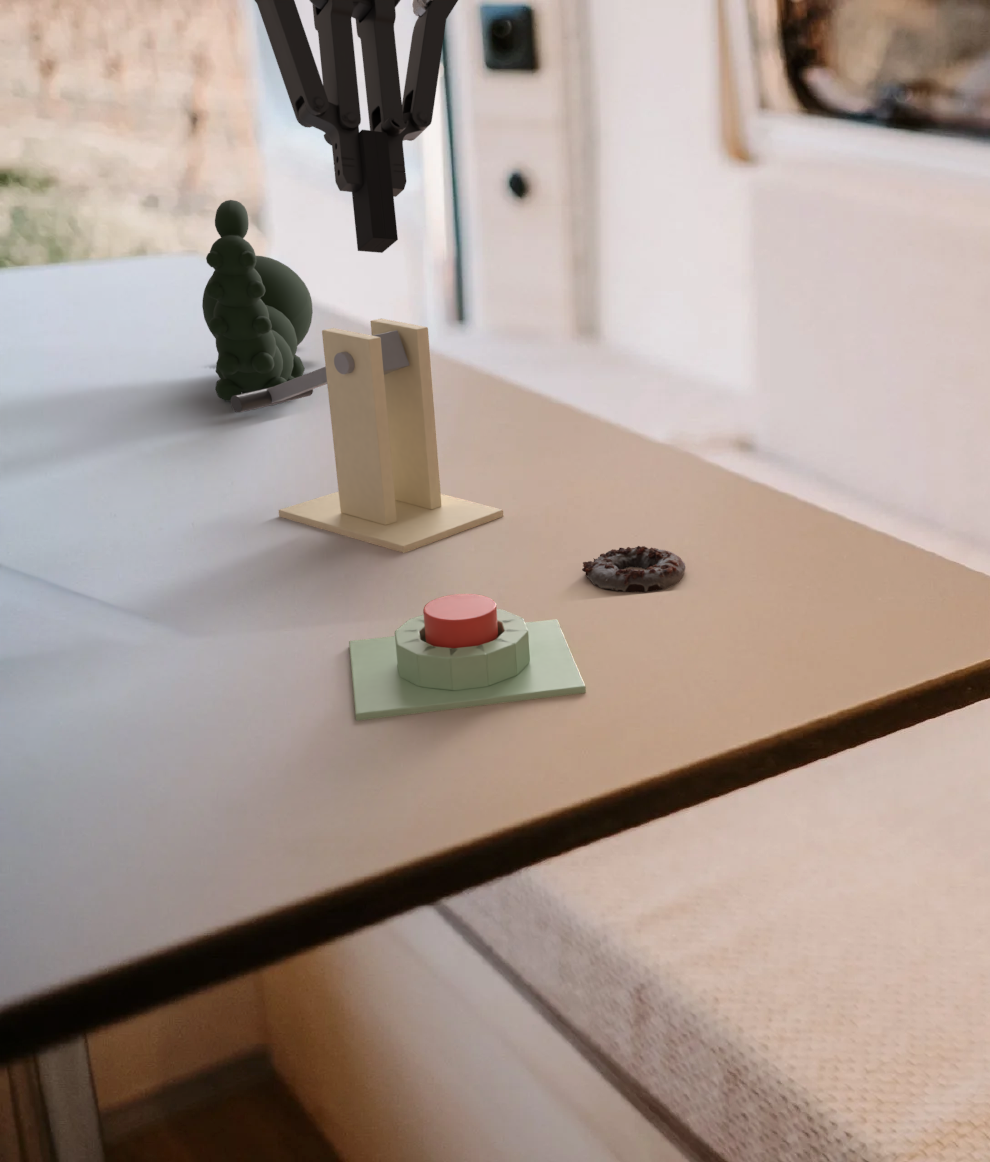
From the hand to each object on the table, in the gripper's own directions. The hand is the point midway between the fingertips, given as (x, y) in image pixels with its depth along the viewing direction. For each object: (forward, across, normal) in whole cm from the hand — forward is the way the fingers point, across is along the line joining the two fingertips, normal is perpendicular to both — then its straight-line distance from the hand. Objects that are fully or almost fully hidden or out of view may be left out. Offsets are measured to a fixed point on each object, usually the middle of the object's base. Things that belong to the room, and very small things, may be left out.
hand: (377, 244), depth 87 cm
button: (+24, +2, +12) cm, 27 cm away
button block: (+28, +2, +11) cm, 30 cm away
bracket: (+15, -4, -14) cm, 21 cm away
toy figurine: (-3, -8, -53) cm, 53 cm away
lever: (+6, -1, -15) cm, 16 cm away
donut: (+22, -13, +3) cm, 26 cm away
